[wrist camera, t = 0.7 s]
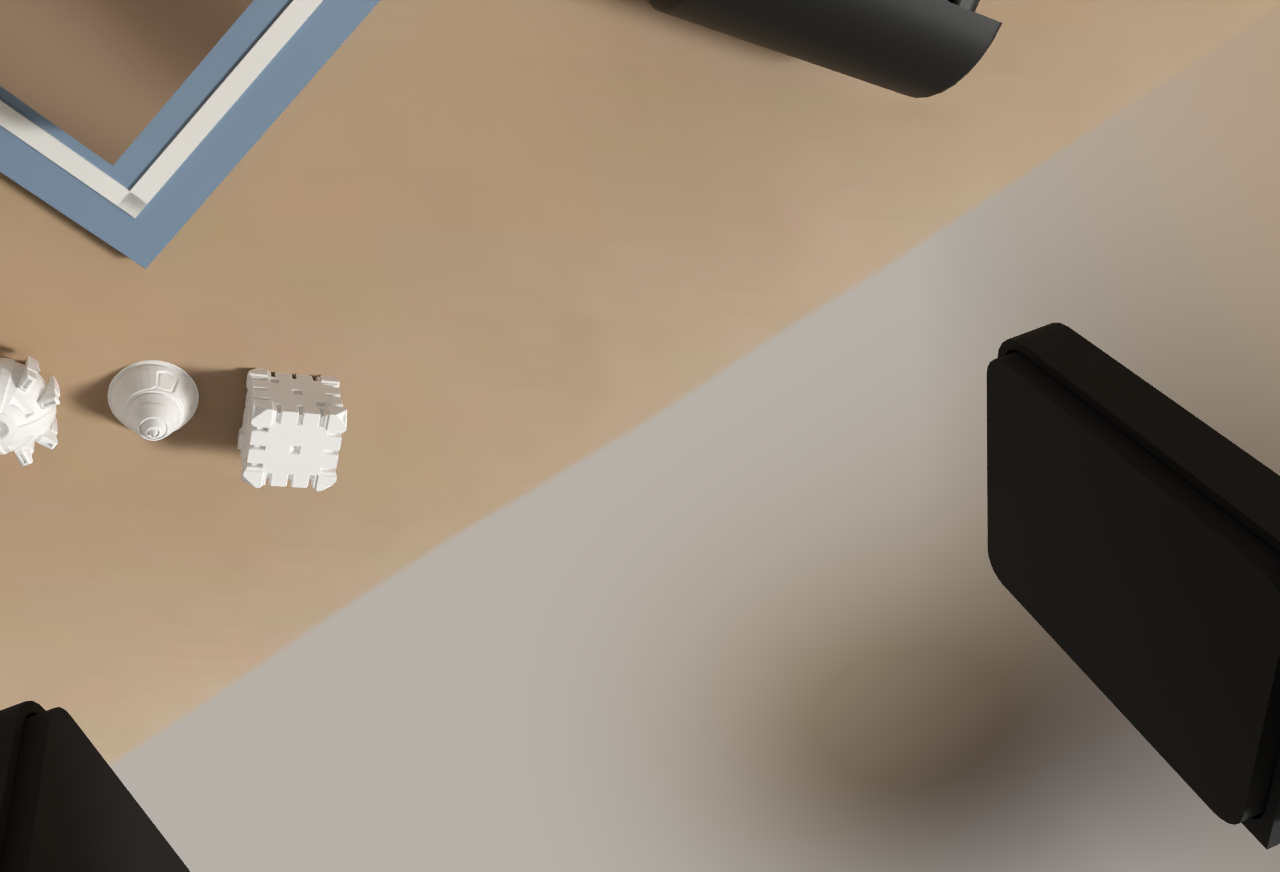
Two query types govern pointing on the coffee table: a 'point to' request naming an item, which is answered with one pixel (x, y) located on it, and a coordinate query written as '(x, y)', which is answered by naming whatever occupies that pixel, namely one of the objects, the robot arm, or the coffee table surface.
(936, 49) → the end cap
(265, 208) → the coffee table surface
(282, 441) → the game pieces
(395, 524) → the coffee table surface
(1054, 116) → the coffee table surface
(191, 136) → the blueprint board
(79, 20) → the plinth
